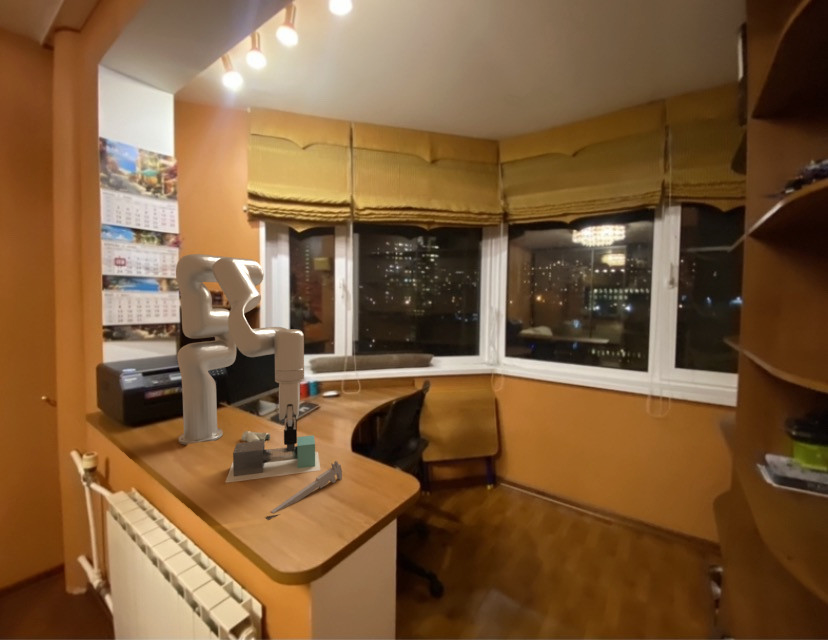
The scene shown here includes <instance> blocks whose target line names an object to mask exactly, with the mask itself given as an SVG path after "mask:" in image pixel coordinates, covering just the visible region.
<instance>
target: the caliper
mask: <svg viewBox="0 0 828 640" xmlns="http://www.w3.org/2000/svg"><path fill="white" fill-rule="evenodd" d="M330 465H331V467H330V468H329V469H327V470H326V471H324V472H323V473H322V474H320V475H319V476H317V477H316V478H315V480H314V481H312V482H311V483H309V484H308V485H306V486H305V487H304V488H302V489H301V490H300V491H298V492H296V493H295V494H293V496H292V495H291V496H290V497H289V498H288V499H285V501H284V502H283V501H282V503H281V504H279V505H278V506H276V507H274V508H273V509H272V510H271V511H270V512H271V513H272V514H273V515H267V516H266V517H265V519H266V520H267V521H270V520H271V519H273V518H276V517H278V516H281V514H275V513H277V512H279V511H281V510H283V509H286V508H287V507H290V506H291V505H293V504H295V503H297V502H299V501H301V500H303V499H304V498H305V497H307V496H308V495H310V494H311V493H312V492H314V491H315V490H316V489H318V488H319V489H322V488H323V487H325V486H327V485H328V484H329V482H330V483H331V484H335V483H337V480H339V481H341V480H342V479H343V469H342V466H341V464H340V463H339V462H338V460H334V463H331V464H330ZM336 478H337V479H336Z"/></svg>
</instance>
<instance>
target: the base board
mask: <svg viewBox="0 0 828 640" xmlns="http://www.w3.org/2000/svg"><path fill="white" fill-rule="evenodd" d="M318 471H321V464H320V456H319V452H318V451H315V466H312V467H304V468H298V459H294V460H286V461H278V462H270V463H265V464H264V470H263V473H257V474H249V475H242V476H234V473H233V462H232V463H231V466H230V469H229V471H228V474H227V477H226V479H225V483H234V482H243V481H250V480H257V479H258V480H259V479H265V478H273V477H281V476H288V475H295V474H302V473H303V474H304V473H311V472H318Z"/></svg>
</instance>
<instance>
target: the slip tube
mask: <svg viewBox="0 0 828 640" xmlns="http://www.w3.org/2000/svg"><path fill="white" fill-rule="evenodd" d="M295 445H296V444H289V445H286V446H285V447H277V448H269V449H265V450H263V463H270V462H278V461H286V460H294V459H298V455H297V445H296V446H295Z"/></svg>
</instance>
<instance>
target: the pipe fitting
mask: <svg viewBox="0 0 828 640" xmlns="http://www.w3.org/2000/svg"><path fill="white" fill-rule="evenodd" d="M266 440H269V441H270V440H271V433H269V432H257V431H256V432H255V431H249V430H245V431H243V433H242V434H241V442H254V441H264V444H265V443H266Z"/></svg>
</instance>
